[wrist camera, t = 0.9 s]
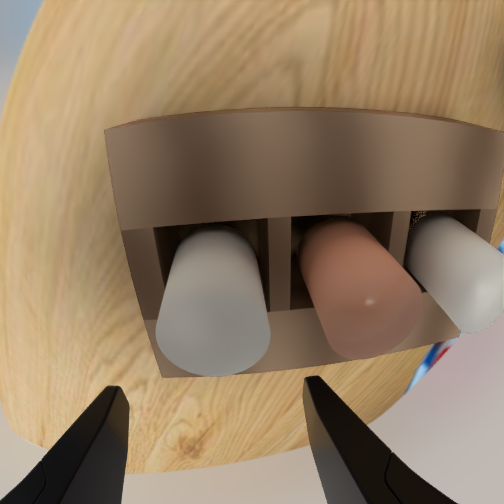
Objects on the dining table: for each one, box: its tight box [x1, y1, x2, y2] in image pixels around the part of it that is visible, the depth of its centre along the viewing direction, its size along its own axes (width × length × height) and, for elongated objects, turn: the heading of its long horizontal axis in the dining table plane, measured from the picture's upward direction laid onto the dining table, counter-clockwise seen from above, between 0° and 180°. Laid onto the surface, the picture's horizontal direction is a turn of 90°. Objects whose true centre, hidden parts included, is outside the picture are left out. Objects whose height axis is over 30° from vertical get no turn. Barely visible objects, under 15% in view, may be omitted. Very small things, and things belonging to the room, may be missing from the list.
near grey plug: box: [155, 224, 271, 377], centre depth 13 cm, size 4×4×6 cm
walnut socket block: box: [104, 107, 504, 378], centre depth 18 cm, size 20×14×6 cm
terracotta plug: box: [297, 216, 423, 359], centre depth 14 cm, size 4×4×6 cm
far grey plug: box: [404, 212, 504, 334], centre depth 14 cm, size 4×4×6 cm
